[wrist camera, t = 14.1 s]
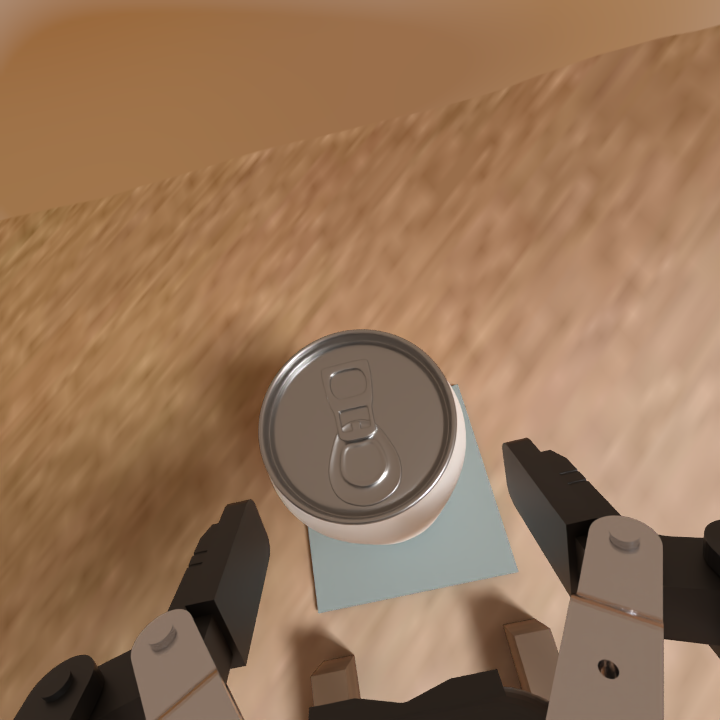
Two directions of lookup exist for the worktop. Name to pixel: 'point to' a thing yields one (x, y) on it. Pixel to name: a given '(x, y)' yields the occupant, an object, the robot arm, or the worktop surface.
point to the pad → (420, 547)
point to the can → (362, 437)
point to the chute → (527, 647)
